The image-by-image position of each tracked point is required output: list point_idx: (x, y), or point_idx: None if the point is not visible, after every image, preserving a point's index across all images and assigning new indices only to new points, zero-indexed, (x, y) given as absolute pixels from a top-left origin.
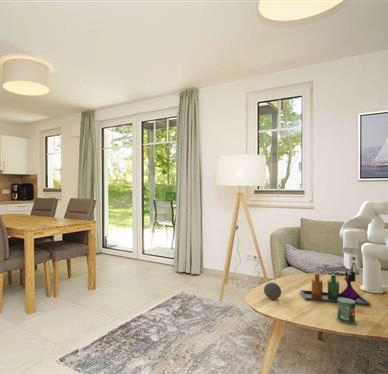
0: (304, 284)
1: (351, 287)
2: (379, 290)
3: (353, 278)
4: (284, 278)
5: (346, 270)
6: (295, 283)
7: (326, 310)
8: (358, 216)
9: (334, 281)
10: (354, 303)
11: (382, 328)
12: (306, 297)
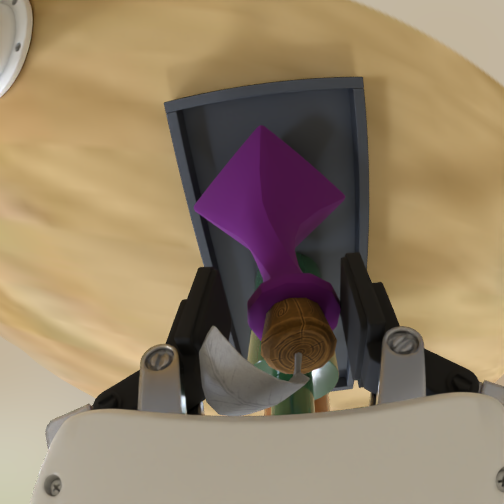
0: (100, 350)
1: (287, 225)
2: (6, 4)
3: (387, 305)
4: (83, 389)
5: (202, 411)
6: (114, 375)
7: (446, 319)
8: None
9: (311, 381)
10: None
11: None
12: (349, 387)
